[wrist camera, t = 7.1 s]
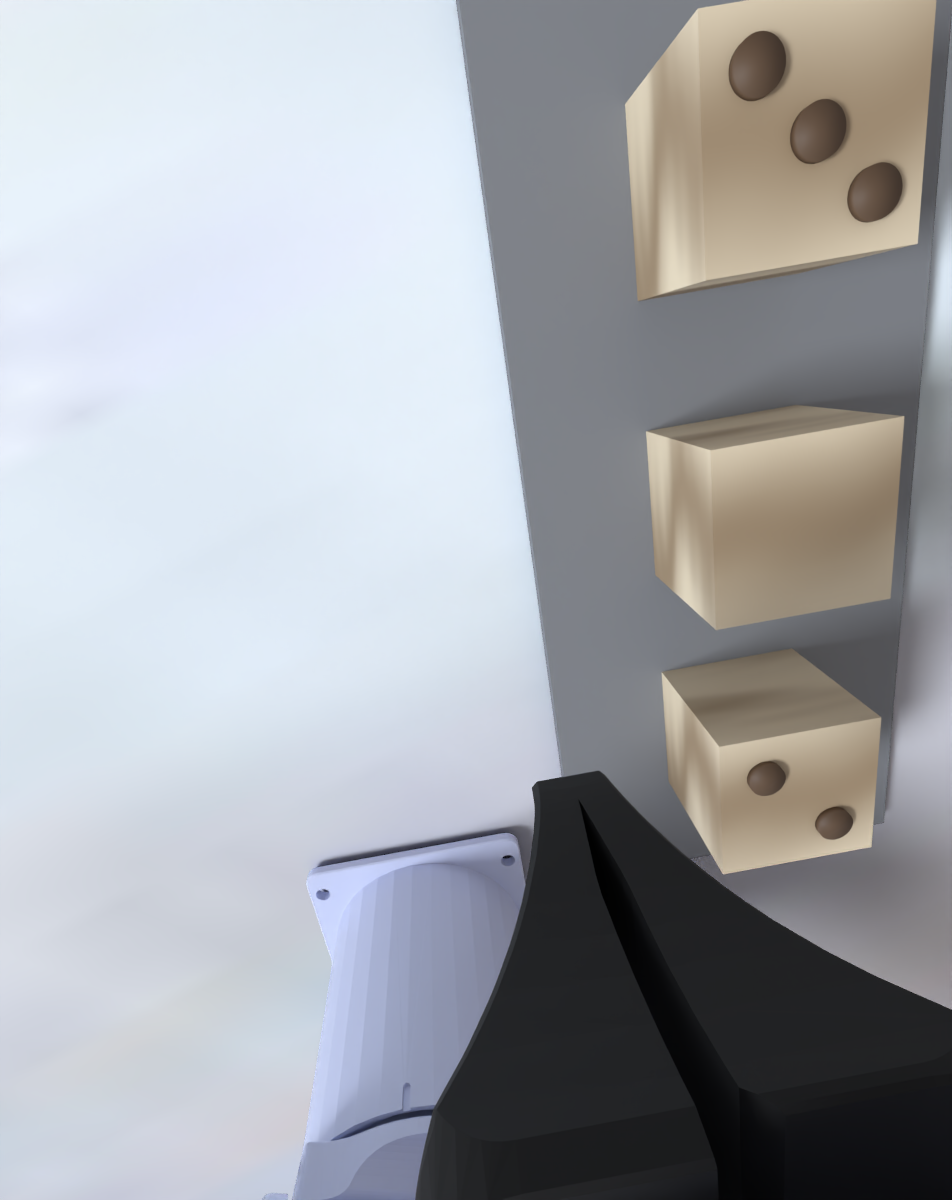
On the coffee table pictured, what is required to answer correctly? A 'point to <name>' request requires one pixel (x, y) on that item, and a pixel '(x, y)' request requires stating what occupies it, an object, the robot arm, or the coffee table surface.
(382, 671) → the coffee table surface
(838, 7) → the three pip block
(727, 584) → the plain block
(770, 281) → the slate mat
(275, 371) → the coffee table surface
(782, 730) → the two pip block
